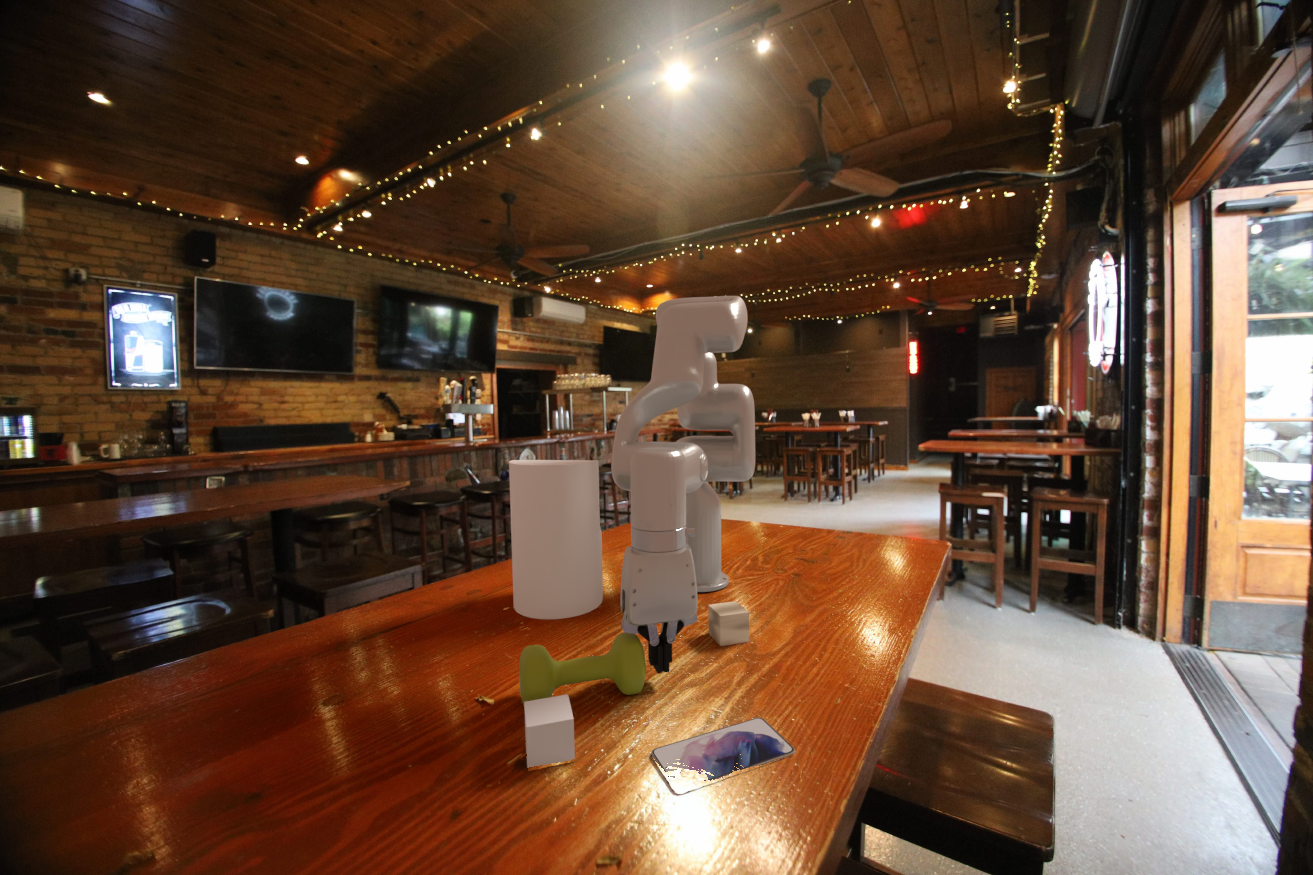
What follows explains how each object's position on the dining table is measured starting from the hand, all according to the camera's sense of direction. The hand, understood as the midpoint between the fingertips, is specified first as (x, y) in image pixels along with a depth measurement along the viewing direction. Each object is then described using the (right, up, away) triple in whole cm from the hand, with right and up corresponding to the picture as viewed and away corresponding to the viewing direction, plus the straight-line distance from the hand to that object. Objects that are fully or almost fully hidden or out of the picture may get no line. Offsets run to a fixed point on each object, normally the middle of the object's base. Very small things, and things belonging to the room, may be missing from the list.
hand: (660, 667), depth 73 cm
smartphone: (+7, -4, -15) cm, 17 cm away
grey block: (-13, -3, -14) cm, 19 cm away
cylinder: (-20, -1, +31) cm, 36 cm away
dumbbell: (-10, -3, -3) cm, 11 cm away
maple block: (+11, -1, +14) cm, 18 cm away
